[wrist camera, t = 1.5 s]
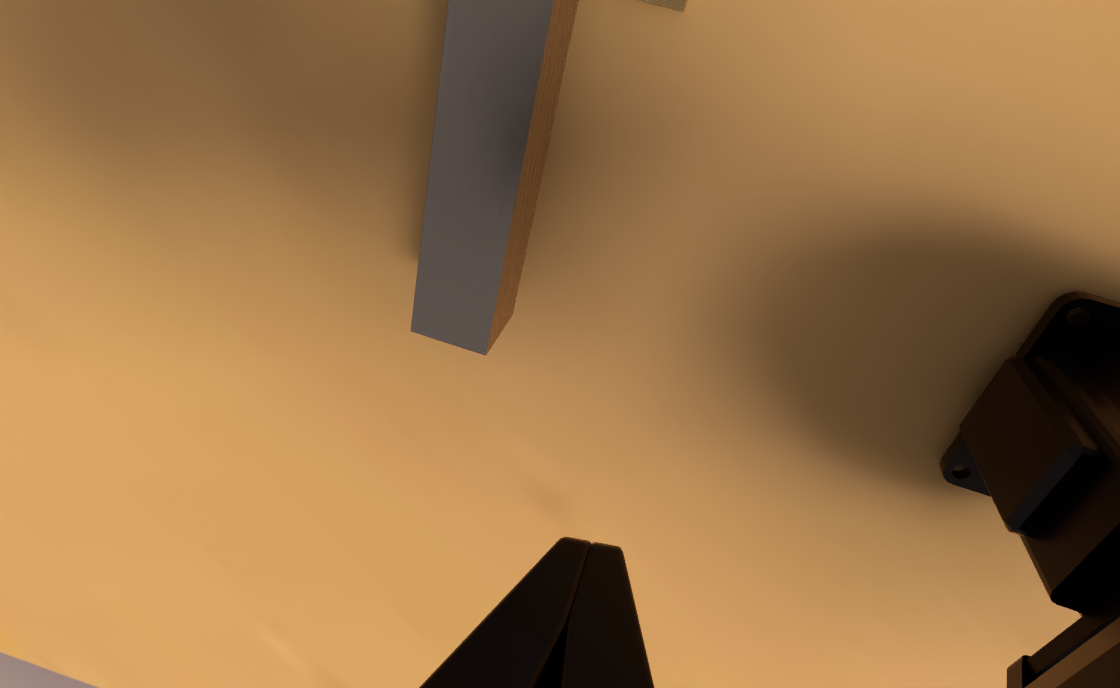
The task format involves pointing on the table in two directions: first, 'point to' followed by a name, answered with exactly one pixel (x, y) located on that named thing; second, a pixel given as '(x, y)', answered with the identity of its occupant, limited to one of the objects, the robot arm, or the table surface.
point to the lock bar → (487, 162)
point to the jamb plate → (669, 4)
